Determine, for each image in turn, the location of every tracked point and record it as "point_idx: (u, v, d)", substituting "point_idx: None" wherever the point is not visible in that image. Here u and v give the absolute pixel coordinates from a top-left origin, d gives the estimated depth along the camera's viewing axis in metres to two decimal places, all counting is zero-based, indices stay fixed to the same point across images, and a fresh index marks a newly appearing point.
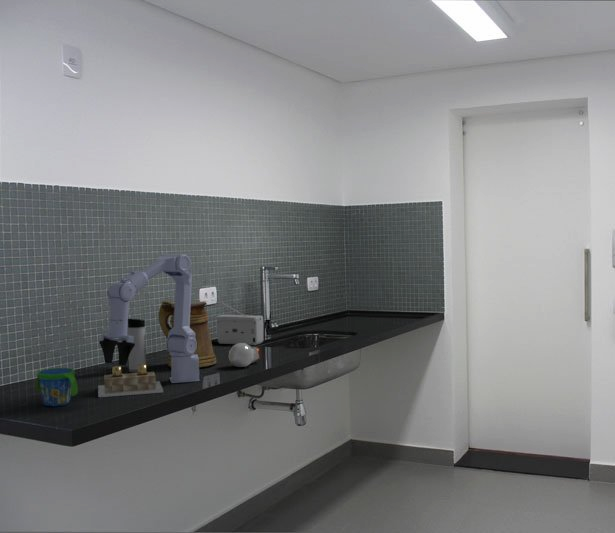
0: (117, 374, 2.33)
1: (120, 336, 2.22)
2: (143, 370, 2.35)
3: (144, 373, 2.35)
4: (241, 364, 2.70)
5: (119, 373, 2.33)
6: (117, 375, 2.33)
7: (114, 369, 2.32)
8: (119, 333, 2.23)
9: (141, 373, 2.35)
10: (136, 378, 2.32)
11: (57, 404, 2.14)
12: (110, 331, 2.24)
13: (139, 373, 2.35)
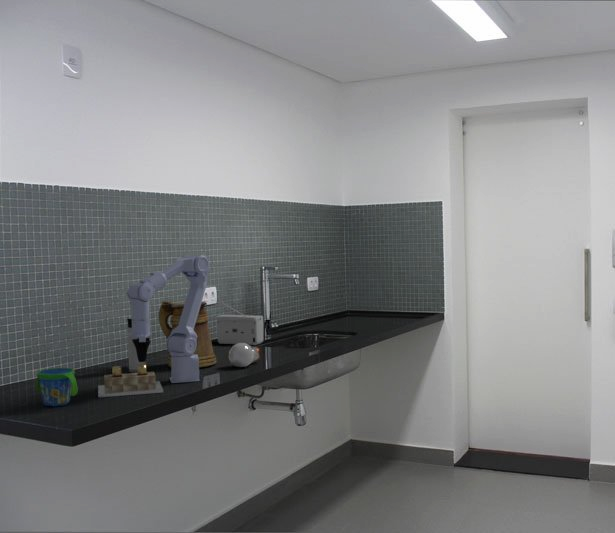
0: (117, 374, 2.33)
1: (136, 336, 2.31)
2: (143, 370, 2.35)
3: (144, 373, 2.35)
4: (241, 364, 2.70)
5: (119, 373, 2.33)
6: (117, 375, 2.33)
7: (114, 369, 2.32)
8: (137, 332, 2.33)
9: (141, 373, 2.35)
10: (136, 378, 2.32)
11: (57, 404, 2.14)
12: (132, 330, 2.34)
13: (139, 373, 2.35)
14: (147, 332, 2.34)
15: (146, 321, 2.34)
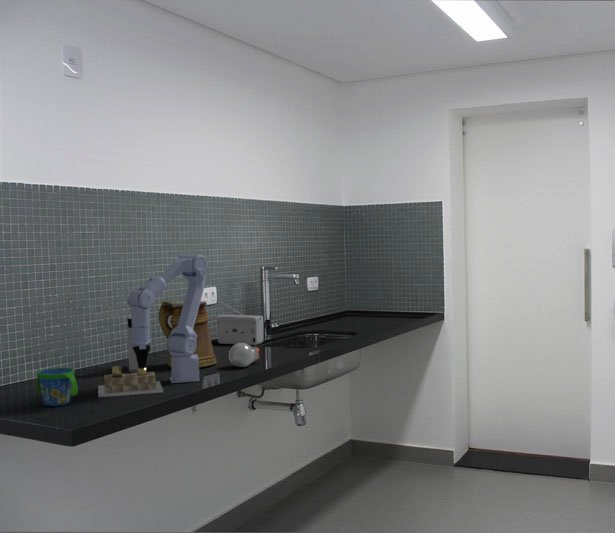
0: (117, 374, 2.33)
1: (136, 343, 2.31)
2: (144, 373, 2.35)
3: None
4: (241, 364, 2.70)
5: (119, 373, 2.33)
6: (117, 375, 2.33)
7: (114, 369, 2.32)
8: (138, 339, 2.33)
9: None
10: (136, 378, 2.32)
11: (57, 404, 2.14)
12: (132, 337, 2.35)
13: None
14: (147, 339, 2.34)
15: (146, 328, 2.34)
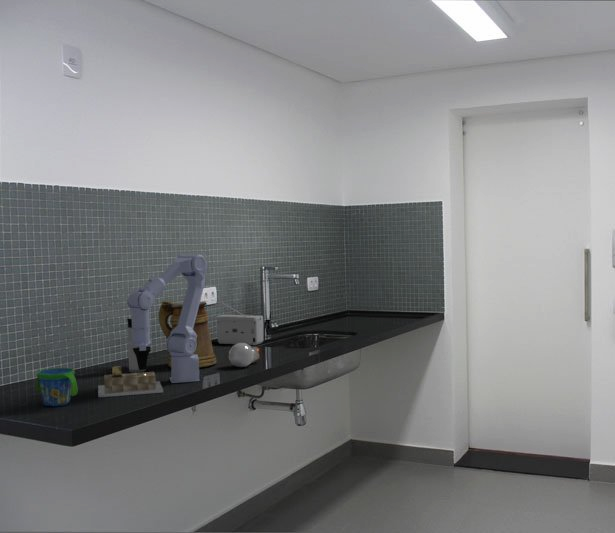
0: (117, 374, 2.33)
1: (136, 344, 2.31)
2: None
3: None
4: (241, 364, 2.70)
5: (119, 373, 2.33)
6: (117, 375, 2.33)
7: (114, 369, 2.32)
8: (138, 341, 2.33)
9: None
10: (136, 378, 2.32)
11: (57, 404, 2.14)
12: (132, 339, 2.35)
13: None
14: (147, 340, 2.34)
15: (146, 329, 2.34)
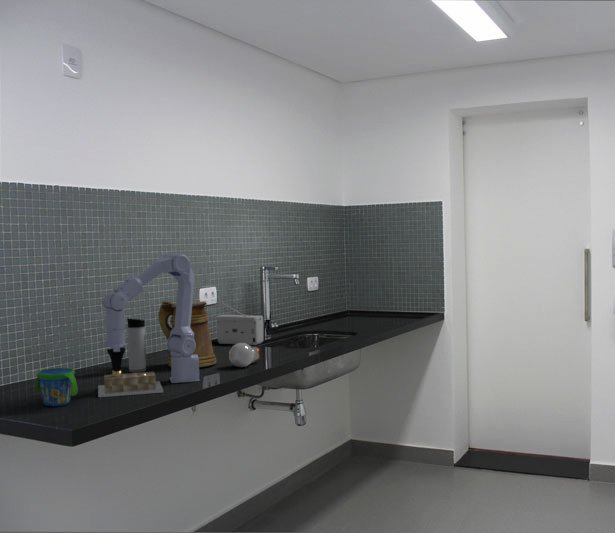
0: None
1: (110, 345, 2.29)
2: None
3: None
4: (241, 364, 2.70)
5: None
6: None
7: (114, 373, 2.33)
8: (112, 342, 2.31)
9: None
10: (136, 378, 2.32)
11: (57, 404, 2.14)
12: None
13: None
14: (122, 341, 2.32)
15: (121, 330, 2.32)
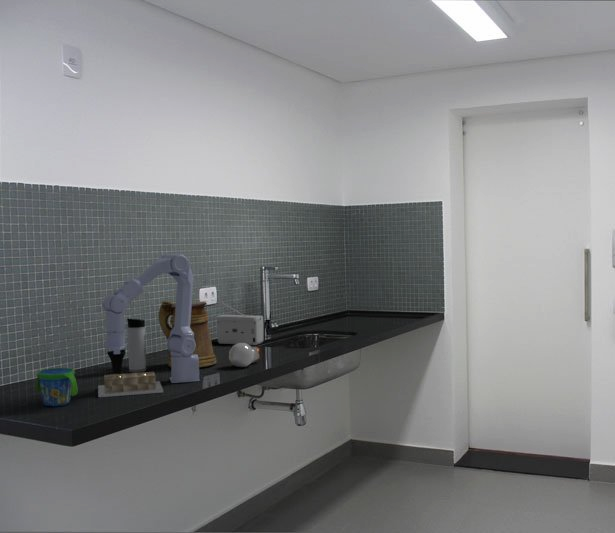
0: None
1: (110, 348, 2.29)
2: None
3: None
4: (241, 364, 2.70)
5: None
6: None
7: None
8: (112, 344, 2.31)
9: None
10: (136, 378, 2.32)
11: (57, 404, 2.14)
12: (107, 342, 2.32)
13: None
14: (122, 344, 2.32)
15: (121, 333, 2.32)
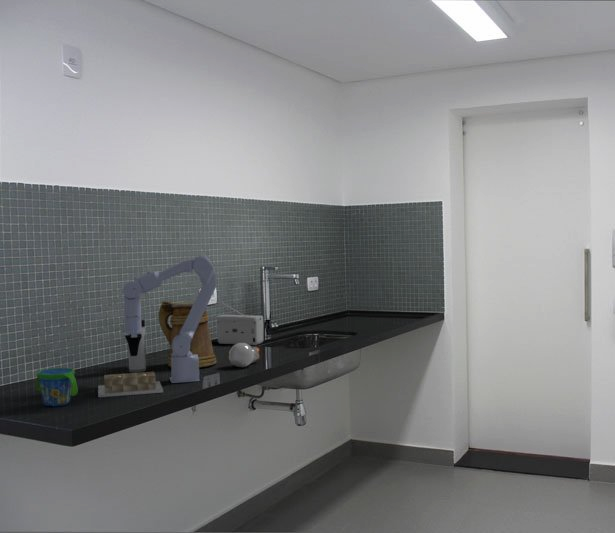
0: None
1: (128, 331, 2.42)
2: None
3: None
4: (241, 364, 2.70)
5: None
6: None
7: None
8: (129, 328, 2.44)
9: None
10: (136, 378, 2.32)
11: (57, 404, 2.14)
12: (124, 326, 2.45)
13: None
14: (139, 328, 2.45)
15: (138, 317, 2.45)
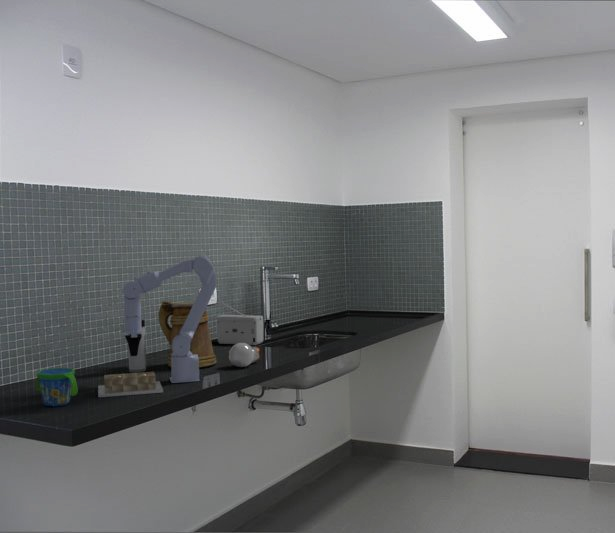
0: None
1: (128, 331, 2.42)
2: None
3: None
4: (241, 364, 2.70)
5: None
6: None
7: None
8: (129, 328, 2.44)
9: None
10: (136, 378, 2.32)
11: (57, 404, 2.14)
12: (124, 326, 2.45)
13: None
14: (139, 328, 2.45)
15: (138, 317, 2.45)
